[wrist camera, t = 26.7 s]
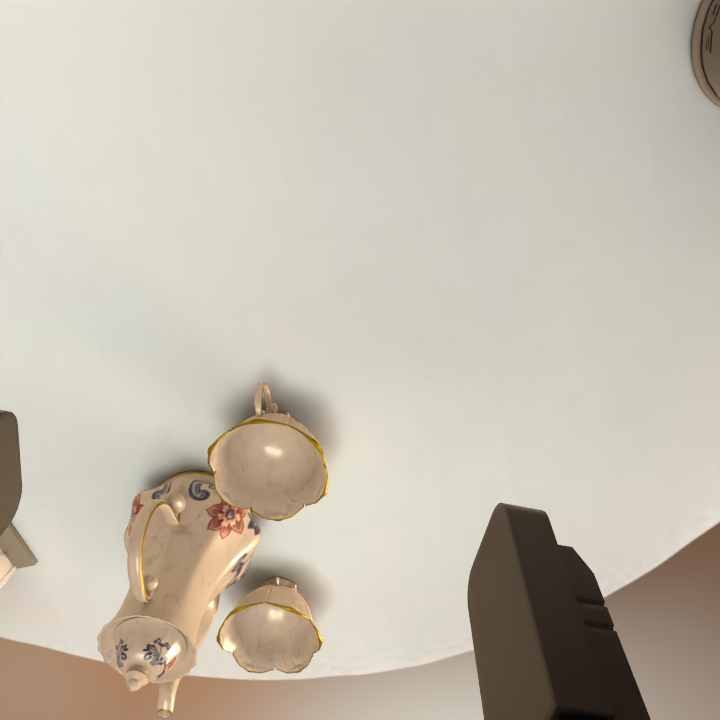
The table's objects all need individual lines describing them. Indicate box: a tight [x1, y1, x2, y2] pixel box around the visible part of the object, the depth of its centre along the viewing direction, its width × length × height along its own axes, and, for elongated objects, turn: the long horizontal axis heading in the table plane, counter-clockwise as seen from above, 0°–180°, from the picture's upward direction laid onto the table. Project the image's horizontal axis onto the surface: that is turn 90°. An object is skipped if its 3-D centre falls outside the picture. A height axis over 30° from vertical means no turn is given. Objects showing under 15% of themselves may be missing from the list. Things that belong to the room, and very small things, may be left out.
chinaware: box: [98, 383, 328, 718], centre depth 46 cm, size 28×17×17 cm, turn 2°
